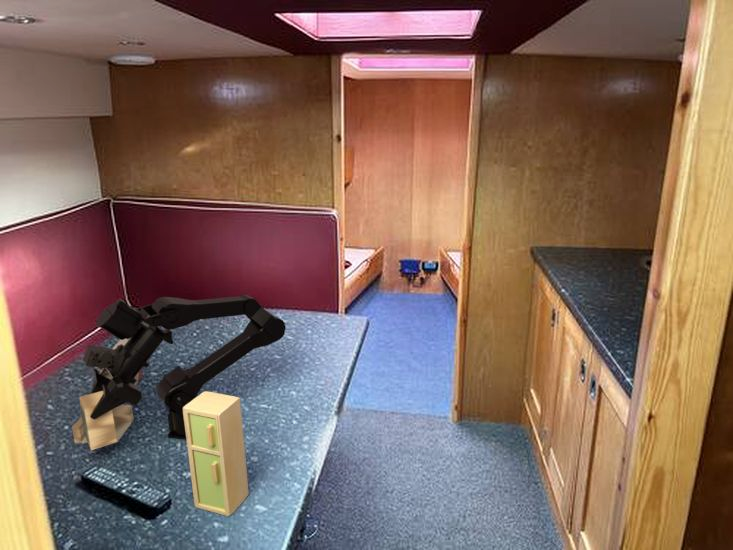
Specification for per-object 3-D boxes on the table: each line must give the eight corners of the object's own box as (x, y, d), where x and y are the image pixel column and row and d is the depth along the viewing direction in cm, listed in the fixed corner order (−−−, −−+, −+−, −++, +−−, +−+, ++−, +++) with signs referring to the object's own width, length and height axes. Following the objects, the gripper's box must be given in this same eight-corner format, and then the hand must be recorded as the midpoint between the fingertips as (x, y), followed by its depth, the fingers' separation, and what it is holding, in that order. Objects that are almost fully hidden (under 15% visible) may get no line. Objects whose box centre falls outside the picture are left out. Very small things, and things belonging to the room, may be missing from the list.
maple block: (111, 431, 121) (104, 390, 118) (117, 442, 117) (110, 399, 114) (85, 439, 118) (78, 397, 115) (90, 450, 114) (82, 407, 111)
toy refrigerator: (190, 510, 103) (179, 408, 97) (214, 486, 109) (205, 389, 104) (227, 520, 100) (217, 416, 94) (249, 495, 107) (241, 397, 101)
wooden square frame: (133, 420, 134) (131, 405, 132) (117, 442, 124) (115, 426, 123) (93, 420, 133) (91, 405, 132) (74, 443, 124) (72, 427, 123)
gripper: (95, 318, 120) (46, 378, 117) (116, 345, 106) (61, 415, 102) (138, 343, 127) (92, 401, 124) (163, 372, 112) (112, 438, 109)
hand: (89, 412), depth 114 cm, fingers closed on maple block, 5 cm apart
